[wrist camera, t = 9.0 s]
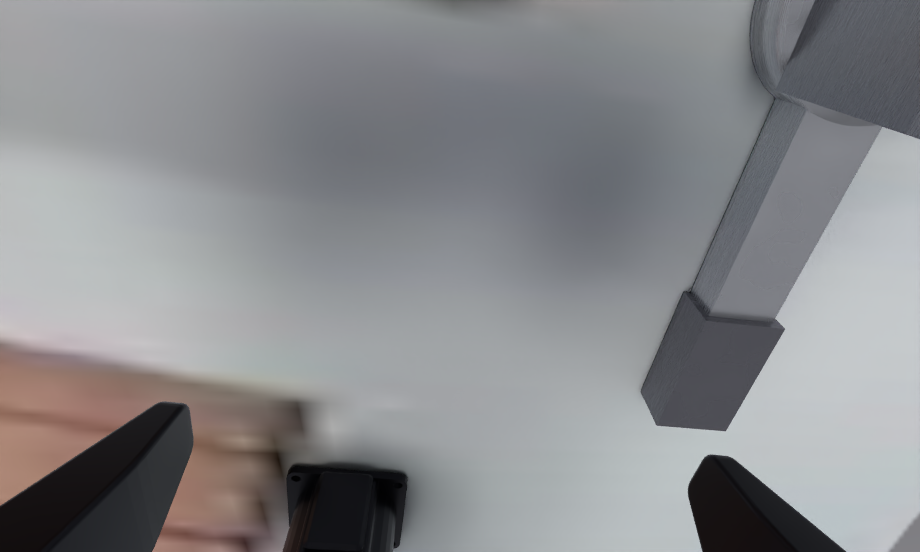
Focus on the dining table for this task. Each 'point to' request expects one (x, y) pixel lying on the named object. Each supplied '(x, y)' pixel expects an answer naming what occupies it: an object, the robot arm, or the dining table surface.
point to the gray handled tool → (757, 241)
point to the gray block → (860, 61)
